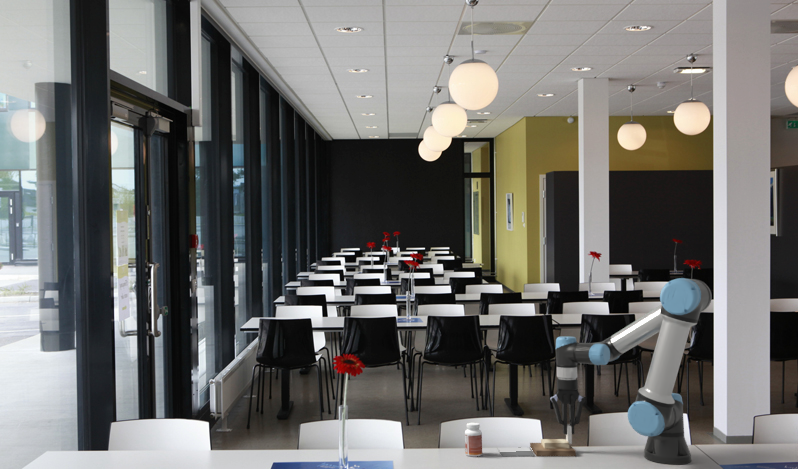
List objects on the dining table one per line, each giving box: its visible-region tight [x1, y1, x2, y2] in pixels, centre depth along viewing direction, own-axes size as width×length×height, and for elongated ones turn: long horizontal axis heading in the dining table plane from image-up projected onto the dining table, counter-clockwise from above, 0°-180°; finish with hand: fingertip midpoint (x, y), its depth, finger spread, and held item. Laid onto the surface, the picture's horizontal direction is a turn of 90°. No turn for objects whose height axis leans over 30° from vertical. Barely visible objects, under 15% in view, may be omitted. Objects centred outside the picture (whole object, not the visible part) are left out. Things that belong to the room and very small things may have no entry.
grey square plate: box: [499, 446, 536, 458], centre depth 224 cm, size 12×12×1 cm
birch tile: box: [540, 438, 570, 449], centre depth 224 cm, size 9×6×2 cm, turn 89°
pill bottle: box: [464, 422, 483, 458], centre depth 222 cm, size 6×6×11 cm
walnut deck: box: [529, 442, 577, 457], centre depth 224 cm, size 14×12×2 cm
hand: (569, 443), depth 224 cm, fingers closed
